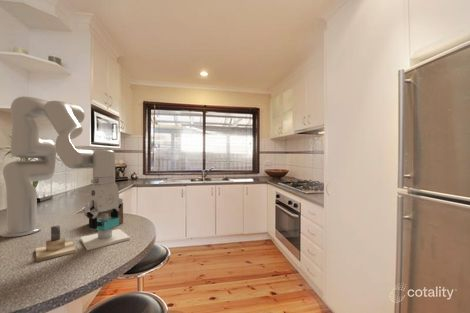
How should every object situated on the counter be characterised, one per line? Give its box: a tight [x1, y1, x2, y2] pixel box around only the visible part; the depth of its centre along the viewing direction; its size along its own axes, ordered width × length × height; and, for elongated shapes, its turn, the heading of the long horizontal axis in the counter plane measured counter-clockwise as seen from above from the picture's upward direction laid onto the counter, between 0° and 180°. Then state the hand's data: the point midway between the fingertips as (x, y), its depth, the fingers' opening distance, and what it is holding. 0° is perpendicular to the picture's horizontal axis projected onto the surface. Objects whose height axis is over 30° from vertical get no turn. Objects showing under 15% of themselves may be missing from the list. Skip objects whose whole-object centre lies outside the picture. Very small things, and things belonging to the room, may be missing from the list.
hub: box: [80, 213, 131, 251], centre depth 85 cm, size 14×14×10 cm
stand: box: [35, 225, 77, 263], centre depth 75 cm, size 12×10×8 cm
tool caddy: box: [93, 202, 124, 225], centre depth 108 cm, size 12×12×10 cm
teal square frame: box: [94, 217, 120, 231], centre depth 85 cm, size 7×7×3 cm
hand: (104, 224), depth 85 cm, fingers open, 9 cm apart
